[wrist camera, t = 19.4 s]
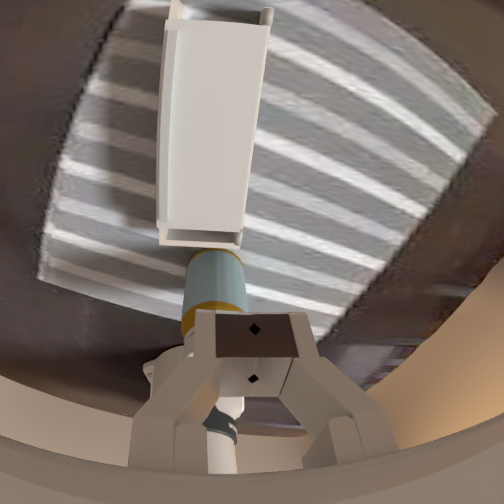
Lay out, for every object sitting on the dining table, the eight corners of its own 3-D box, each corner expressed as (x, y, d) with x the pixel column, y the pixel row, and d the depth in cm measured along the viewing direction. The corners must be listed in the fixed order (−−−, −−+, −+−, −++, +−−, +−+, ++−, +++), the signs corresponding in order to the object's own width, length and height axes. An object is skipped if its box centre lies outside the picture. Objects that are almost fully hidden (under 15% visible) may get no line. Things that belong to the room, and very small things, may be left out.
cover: (239, 228, 33) (240, 235, 32) (157, 224, 32) (155, 230, 31) (266, 27, 22) (268, 25, 21) (167, 20, 21) (164, 18, 20)
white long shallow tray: (238, 232, 38) (240, 253, 34) (163, 228, 37) (158, 248, 33) (268, 12, 24) (275, 6, 21) (176, 6, 23) (169, -1, 19)
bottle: (184, 285, 42) (175, 382, 29) (191, 240, 38) (181, 339, 26) (236, 292, 43) (244, 389, 31) (248, 249, 39) (262, 347, 27)
